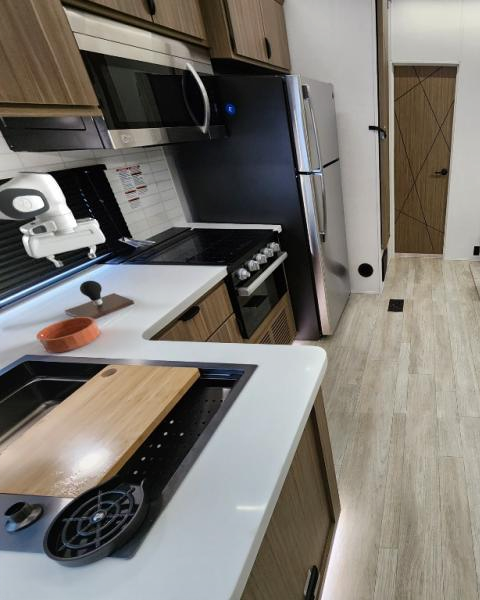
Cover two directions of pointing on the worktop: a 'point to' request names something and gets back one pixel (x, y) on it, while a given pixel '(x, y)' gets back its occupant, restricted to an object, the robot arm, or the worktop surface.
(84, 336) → the bowl
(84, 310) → the board
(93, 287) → the black bulb silver base
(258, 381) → the worktop surface
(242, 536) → the worktop surface
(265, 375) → the worktop surface
